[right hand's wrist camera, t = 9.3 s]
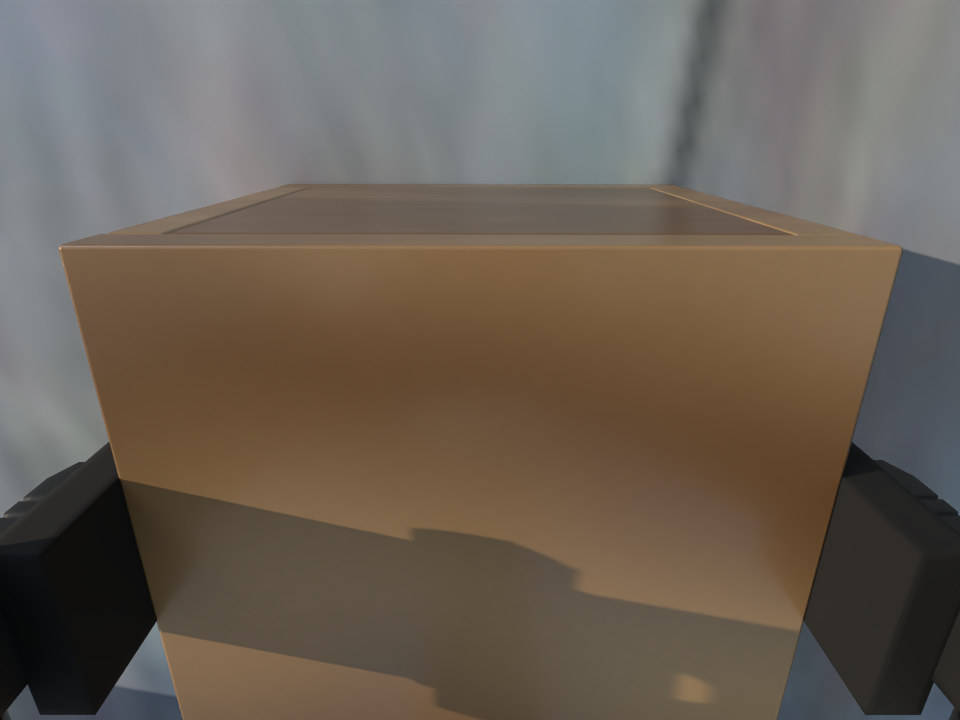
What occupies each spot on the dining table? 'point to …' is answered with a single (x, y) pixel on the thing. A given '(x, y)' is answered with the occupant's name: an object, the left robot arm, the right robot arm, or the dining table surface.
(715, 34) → the dining table surface
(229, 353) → the cabinet
